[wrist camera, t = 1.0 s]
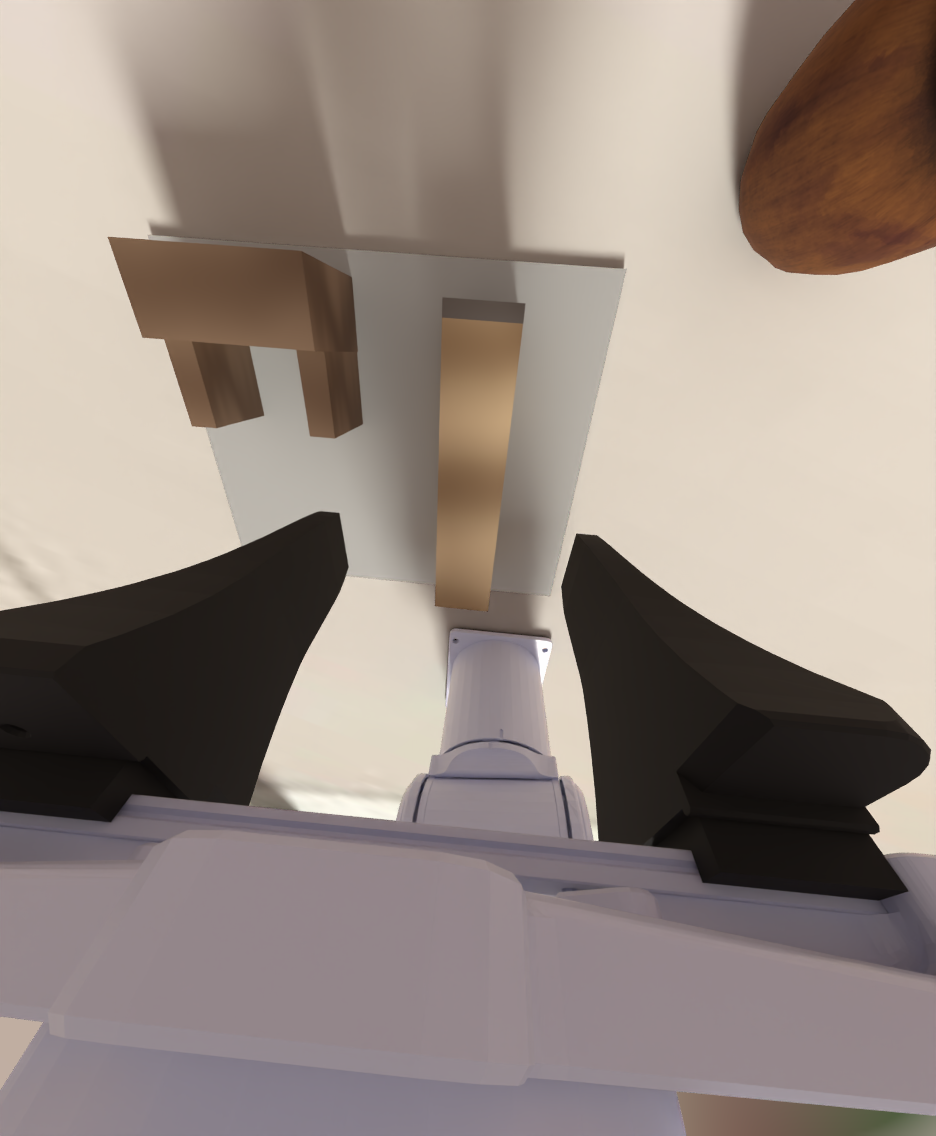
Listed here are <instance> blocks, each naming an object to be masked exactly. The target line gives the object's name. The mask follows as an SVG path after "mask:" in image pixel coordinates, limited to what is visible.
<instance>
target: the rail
mask: <svg viewBox="0 0 936 1136" xmlns="http://www.w3.org/2000/svg"><path fill="white" fill-rule="evenodd" d="M525 305H526V303H513V302H500V301H486V300H473V299H460V298H446V297H442V335H441V377H440V419H439V461H438V503H437V545H436V587H435V606H438V607H447V608H457V609H467V610H477V611H487V612H488V606H489V598H490V590H491V582H492V574H493V565H494V557H495V549H496V541H497V533H498V525H499V517H500V509H501V500H502V492H503V484H504V476H505V468H506V460H507V452H508V444H509V435H510V427H511V419H512V411H513V403H514V395H515V387H516V379H517V370H518V362H519V354H520V346H521V338H522V330H523V322H524V313H525Z"/></svg>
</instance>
